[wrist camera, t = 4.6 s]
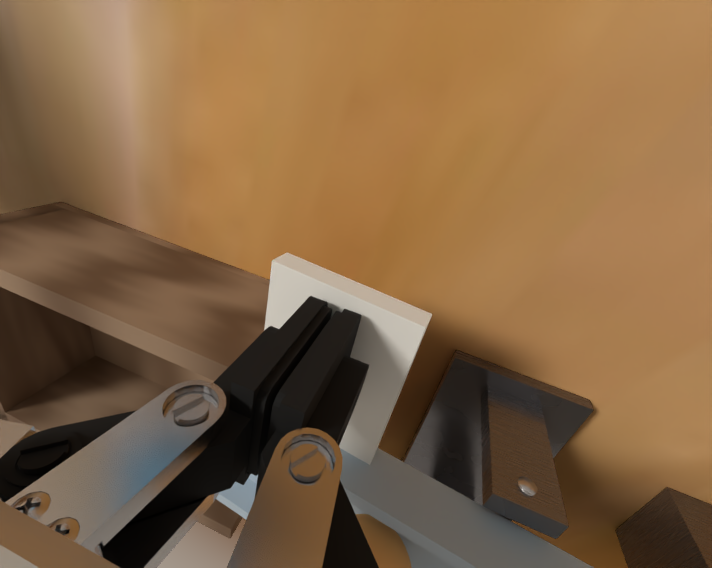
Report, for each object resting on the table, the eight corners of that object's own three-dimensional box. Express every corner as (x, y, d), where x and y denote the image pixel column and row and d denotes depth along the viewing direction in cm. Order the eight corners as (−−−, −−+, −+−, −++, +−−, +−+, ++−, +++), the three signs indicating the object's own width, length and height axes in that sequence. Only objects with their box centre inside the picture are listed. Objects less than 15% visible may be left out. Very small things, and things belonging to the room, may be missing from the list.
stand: (769, 467, 14) (933, 663, 9) (621, 573, 19) (674, 739, 14) (455, 349, 16) (447, 455, 11) (396, 473, 21) (371, 584, 16)
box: (313, 296, 17) (243, 374, 12) (285, 444, 23) (230, 538, 18) (60, 201, 20) (-86, 231, 15) (93, 356, 26) (-4, 416, 20)
